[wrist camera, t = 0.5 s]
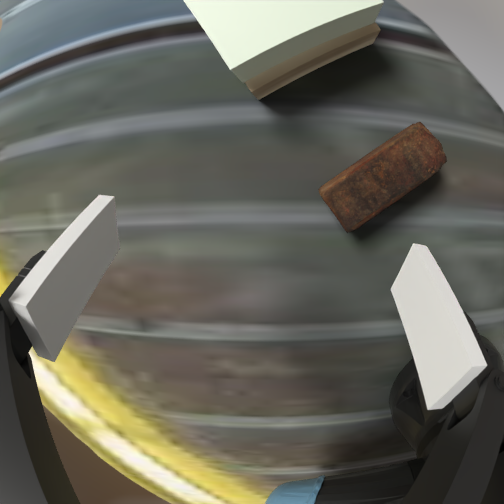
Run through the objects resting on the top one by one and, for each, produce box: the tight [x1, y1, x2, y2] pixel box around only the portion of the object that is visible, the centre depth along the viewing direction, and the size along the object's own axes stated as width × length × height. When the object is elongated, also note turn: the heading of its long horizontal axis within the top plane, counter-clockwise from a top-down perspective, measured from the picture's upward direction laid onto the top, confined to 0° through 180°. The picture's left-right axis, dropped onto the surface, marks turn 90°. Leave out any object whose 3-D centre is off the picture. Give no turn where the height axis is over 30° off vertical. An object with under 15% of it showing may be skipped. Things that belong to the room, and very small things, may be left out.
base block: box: [245, 22, 381, 100], centre depth 21 cm, size 12×12×4 cm
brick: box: [318, 122, 447, 233], centre depth 23 cm, size 11×4×5 cm, turn 128°
